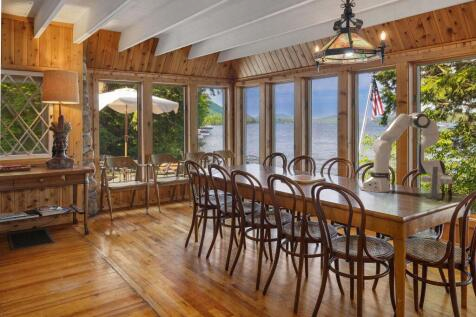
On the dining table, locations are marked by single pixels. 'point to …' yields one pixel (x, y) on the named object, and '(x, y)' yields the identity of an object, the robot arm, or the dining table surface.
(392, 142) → the robot arm
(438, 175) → the link
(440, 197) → the stand
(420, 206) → the dining table surface
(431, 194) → the mat
